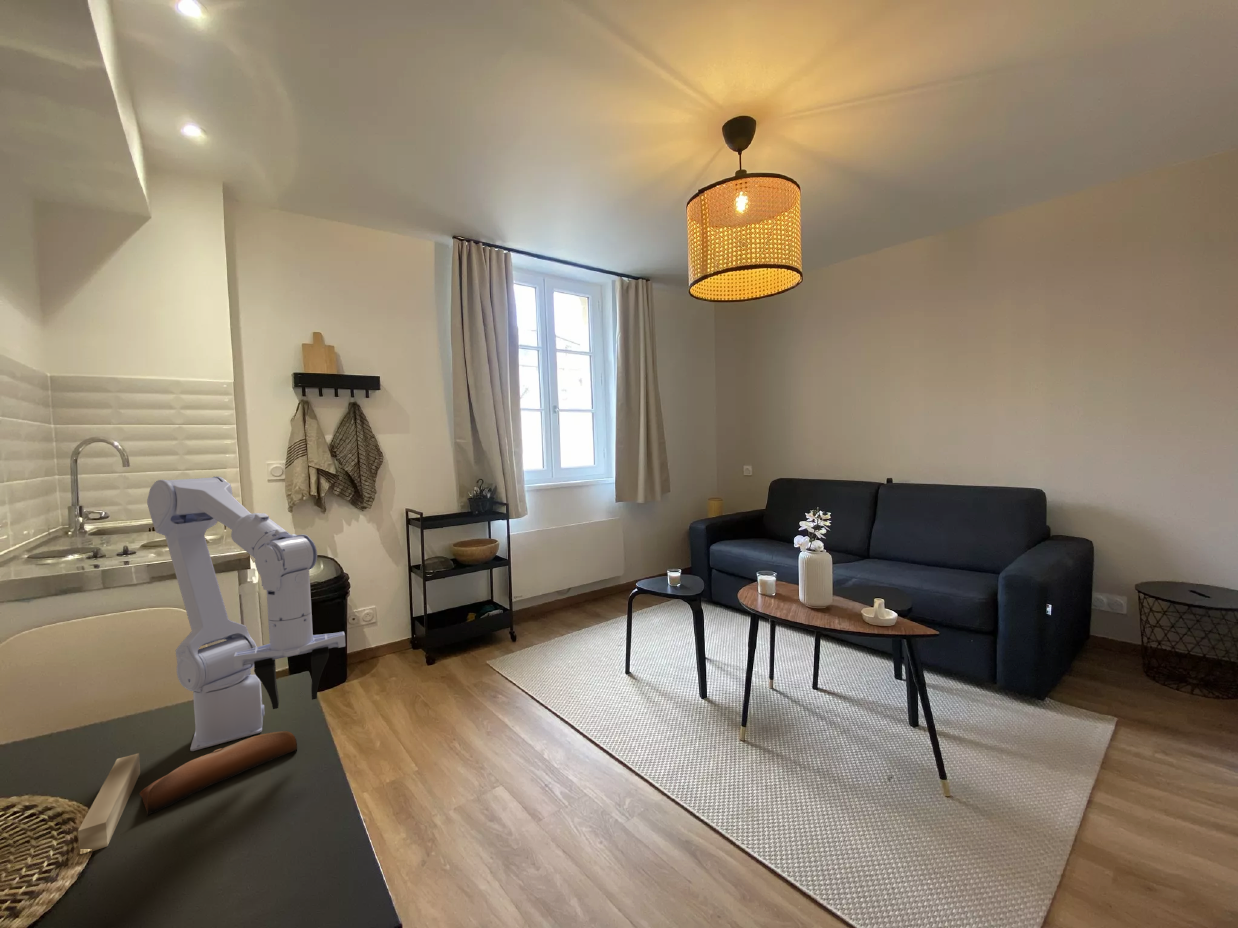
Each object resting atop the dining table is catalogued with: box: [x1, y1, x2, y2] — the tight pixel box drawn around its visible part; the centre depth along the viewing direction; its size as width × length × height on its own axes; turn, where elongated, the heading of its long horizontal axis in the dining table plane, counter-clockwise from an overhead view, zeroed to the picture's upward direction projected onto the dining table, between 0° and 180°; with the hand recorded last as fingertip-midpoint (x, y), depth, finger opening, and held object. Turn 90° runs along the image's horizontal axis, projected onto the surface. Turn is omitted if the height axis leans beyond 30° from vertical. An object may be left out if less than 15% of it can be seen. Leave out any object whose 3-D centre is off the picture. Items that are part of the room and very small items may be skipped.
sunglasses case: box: [138, 730, 298, 817], centre depth 77 cm, size 18×7×7 cm, turn 142°
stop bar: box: [77, 752, 141, 852], centre depth 70 cm, size 2×18×3 cm, turn 33°
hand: (295, 701), depth 81 cm, fingers open, 4 cm apart
